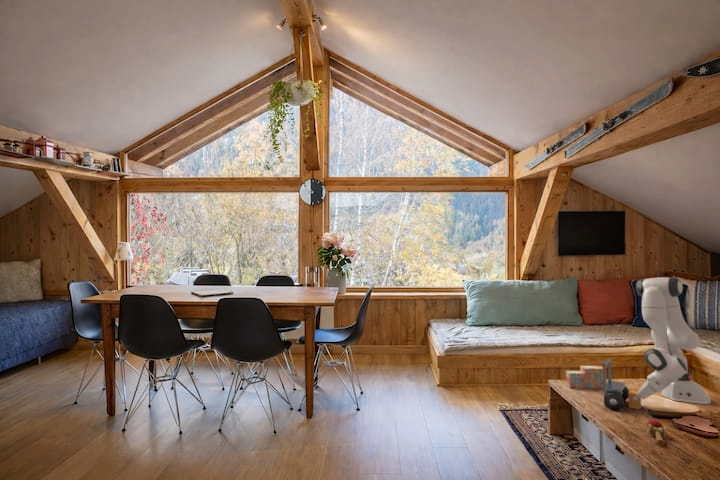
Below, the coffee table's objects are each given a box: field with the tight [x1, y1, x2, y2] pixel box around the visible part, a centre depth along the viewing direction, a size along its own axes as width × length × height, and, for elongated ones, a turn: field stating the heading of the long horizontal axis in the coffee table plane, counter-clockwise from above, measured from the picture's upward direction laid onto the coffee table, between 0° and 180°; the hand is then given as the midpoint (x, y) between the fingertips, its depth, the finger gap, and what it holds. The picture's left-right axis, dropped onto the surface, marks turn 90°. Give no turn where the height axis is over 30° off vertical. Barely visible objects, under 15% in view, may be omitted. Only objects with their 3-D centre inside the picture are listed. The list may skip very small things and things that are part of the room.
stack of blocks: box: [565, 365, 604, 389], centre depth 272 cm, size 21×6×12 cm, turn 86°
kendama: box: [646, 418, 668, 447], centre depth 199 cm, size 8×6×18 cm
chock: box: [628, 389, 642, 410], centre depth 237 cm, size 5×5×8 cm
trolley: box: [602, 357, 630, 412], centre depth 241 cm, size 10×21×23 cm, turn 141°
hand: (635, 396), depth 236 cm, fingers open, 8 cm apart
